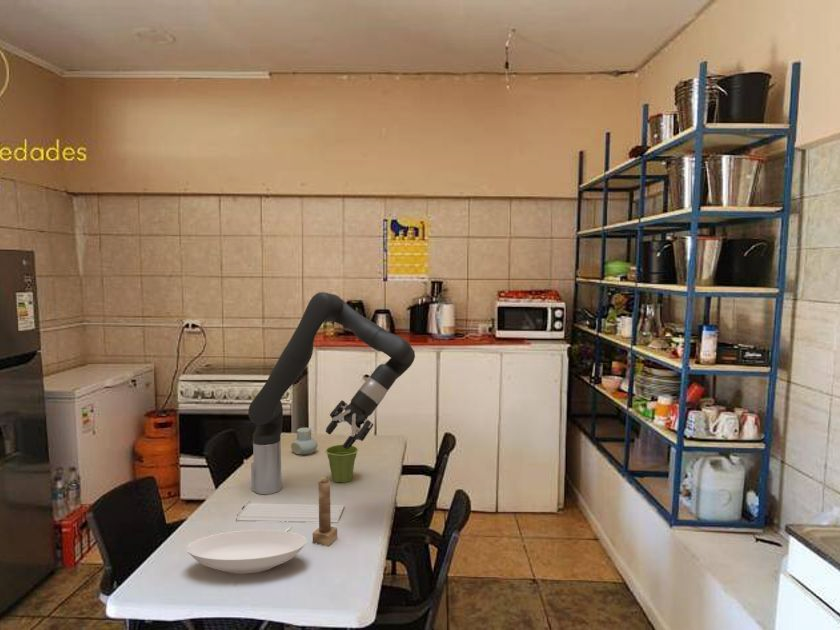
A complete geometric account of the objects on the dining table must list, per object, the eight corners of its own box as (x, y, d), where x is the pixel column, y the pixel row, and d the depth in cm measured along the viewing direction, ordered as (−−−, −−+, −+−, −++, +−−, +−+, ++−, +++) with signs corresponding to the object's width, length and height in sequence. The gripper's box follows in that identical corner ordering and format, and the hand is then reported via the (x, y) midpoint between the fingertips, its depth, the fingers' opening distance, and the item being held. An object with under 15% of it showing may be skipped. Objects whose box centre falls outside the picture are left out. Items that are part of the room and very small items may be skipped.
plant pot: (348, 487, 187) (348, 456, 186) (319, 483, 192) (319, 452, 191) (364, 476, 198) (364, 446, 197) (336, 471, 203) (336, 442, 202)
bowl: (177, 586, 129) (176, 561, 129) (198, 553, 144) (197, 531, 144) (302, 581, 131) (301, 557, 131) (310, 549, 146) (310, 528, 146)
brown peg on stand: (312, 543, 149) (311, 480, 148) (322, 534, 154) (321, 473, 153) (328, 546, 148) (327, 482, 146) (337, 537, 153) (337, 475, 151)
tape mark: (277, 536, 153) (277, 536, 153) (289, 527, 158) (289, 526, 158) (280, 537, 152) (280, 536, 152) (292, 527, 158) (292, 527, 158)
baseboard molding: (337, 527, 160) (344, 509, 172) (336, 518, 160) (344, 501, 172) (235, 525, 161) (249, 507, 173) (235, 515, 161) (249, 499, 173)
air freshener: (320, 453, 223) (320, 429, 222) (304, 458, 217) (303, 434, 216) (304, 447, 230) (304, 424, 230) (288, 452, 224) (288, 429, 223)
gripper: (348, 380, 163) (315, 424, 160) (378, 402, 154) (344, 448, 151) (360, 390, 169) (328, 432, 165) (390, 411, 160) (357, 457, 156)
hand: (336, 440), depth 158 cm, fingers open, 8 cm apart
